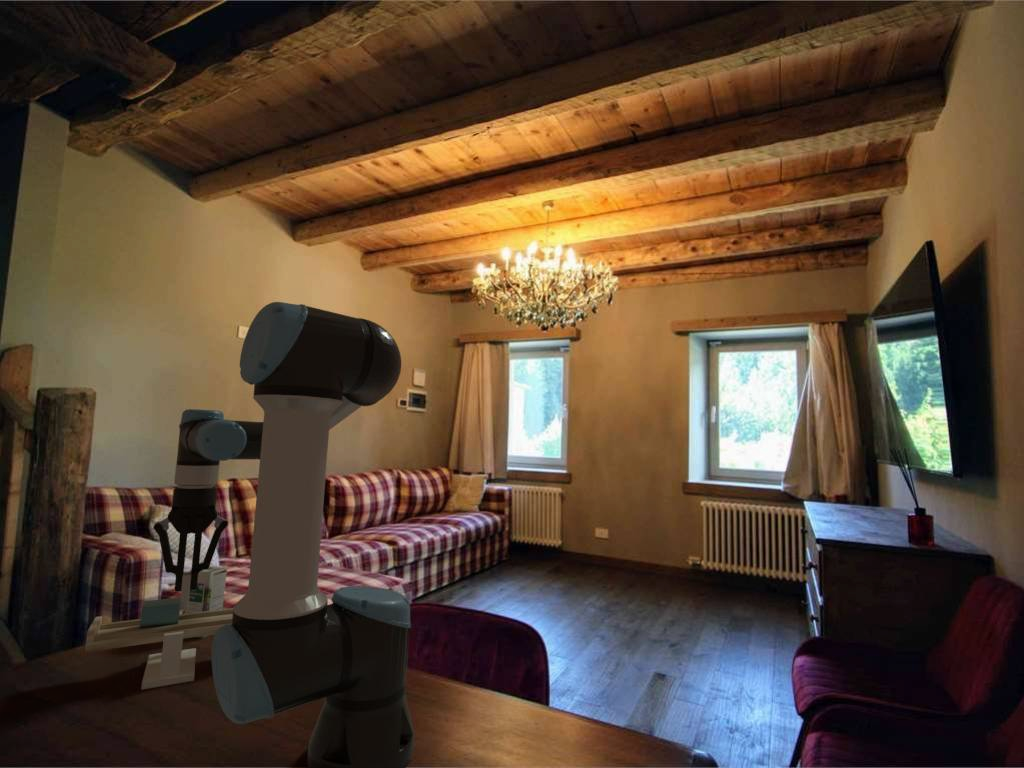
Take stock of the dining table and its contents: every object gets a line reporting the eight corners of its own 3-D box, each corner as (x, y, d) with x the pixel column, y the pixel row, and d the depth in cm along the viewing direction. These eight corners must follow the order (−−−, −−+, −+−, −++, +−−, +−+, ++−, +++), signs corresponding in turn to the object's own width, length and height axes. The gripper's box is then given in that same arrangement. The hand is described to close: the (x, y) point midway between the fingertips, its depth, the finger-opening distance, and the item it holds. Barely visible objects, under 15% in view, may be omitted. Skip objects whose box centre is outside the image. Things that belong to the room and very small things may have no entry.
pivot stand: (193, 680, 95) (198, 632, 96) (141, 689, 91) (147, 639, 92) (195, 654, 106) (199, 611, 107) (148, 660, 102) (153, 616, 103)
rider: (177, 627, 98) (179, 603, 99) (139, 632, 95) (141, 607, 96) (178, 620, 102) (181, 597, 102) (141, 625, 99) (144, 601, 99)
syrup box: (180, 636, 115) (187, 569, 117) (200, 626, 121) (207, 563, 122) (202, 638, 114) (209, 571, 116) (221, 629, 120) (228, 565, 121)
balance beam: (249, 645, 102) (252, 611, 103) (82, 671, 89) (86, 632, 89) (246, 630, 109) (249, 599, 110) (92, 652, 96) (96, 616, 97)
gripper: (231, 483, 109) (221, 597, 107) (159, 484, 103) (145, 605, 101) (233, 487, 103) (221, 608, 101) (155, 488, 97) (141, 618, 94)
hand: (183, 607), depth 101 cm, fingers closed
